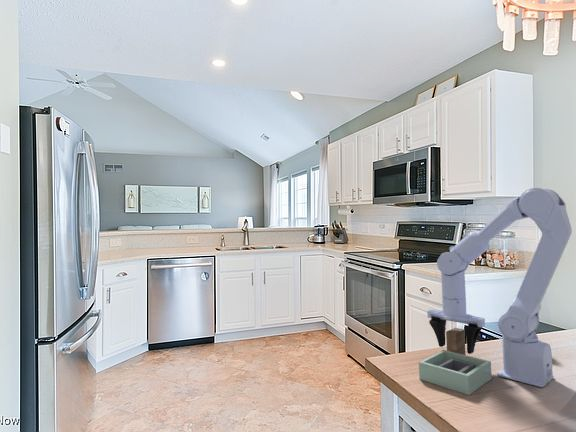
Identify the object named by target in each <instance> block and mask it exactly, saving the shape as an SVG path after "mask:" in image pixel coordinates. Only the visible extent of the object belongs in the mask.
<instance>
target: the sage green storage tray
mask: <svg viewBox="0 0 576 432" xmlns="http://www.w3.org/2000/svg"><path fill="white" fill-rule="evenodd" d="M418 372H419V373H418V374H419V375H418V376H419V380H421V381H424V382H428V383H431V384H434V385H437V386H439V387H442V388H446V389H449V390H452V391H455V392H459V393H462V394H465V395H468V396H470V395H471V394H472V393H474V392H475V391H477V390H478V389H479V388H481V387H482V386H484V385H485V384H486V383H488V382H489V381H491V380H492V377H493V376H492V360H491V361H490V360H486V359H482V358H478V357H474V356H469V355H462V354H458V353H454V352H450V351H447V349H442V350H439V351H438V352H436V353H433V354H432V355H430V356H428V357H425V358H424V359H422V360H420V361H418Z"/></svg>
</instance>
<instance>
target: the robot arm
mask: <svg viewBox="0 0 576 432" xmlns="http://www.w3.org/2000/svg"><path fill="white" fill-rule="evenodd" d="M528 218H529V219H531V220H532V221H533V222H534V223H535V224H536V227H538V229H539V230H540V232H541V237H540V239H539V243H538V244H537V247H536V249H535V251H534V254H533V256H532V259H531V261H530V264H529V266H528V268H527V270H526V272H525V275H524V278H523V280H522V282H521V284H520V287H519V290H518V292H517V294H516V297H515V298H514V299H513V301H512V302H511V304H510V305H509V308H508V310H507V311H506V312H505V313H504V314H502V315H501V316H500V317H499V318H498V324H497V325H498V329H499V331H500V333H501V336H502V337H501V339H502V361H503V369H501V370H499V372H497V373H496V376H498V377H502V378H506V379H509V380H513V381H515V382H516V381H518V382H520V383H524V384H528V385H532V386H535V387H539V388H544V387H545V386H546V385H547V384H549V383H550V381H552V379H554V378H555V375H553V374H554V373H553V356H552V354H553V352H552V347H551V345H550V344H549V343H547V342H545V341H542V340H539V337H538V335H537V332H536V333H535V331H534V330H536V329H537V330H538V327H539V324H540V317H539V314H540V312H541V309H542V308H541V307H542V305H541V303H542V301H543V299H544V297H545V294H546V293H547V290H548V287H549V285H550V283H551V282H552V279H553V277H554V275H555V272H556V269H557V267H558V265H559V263H560V261H561V258H562V256H563V254H564V252H565V249H566V246H567V245H568V242H569V240H570V238H571V236H572V231H573V230H572V226H571V223H570V218H569V216H568V212H567V205H566V202H565V201H564V199H563V198H562V197H561V196H560V195H559V194H558V192H556V191H555V190H552V189H549V188H540V187H531V188H529V189H526V190H525V191H523V192H522V194H521V195H520V196H518V197H515V198H514V199H513V200H511V201H510V202H509V203H508V204H507V205H506V206H505V207H504V208H503V209H502V210H501V211H500V212H498V213H497V214H496V215H495V216H494V217H493V218H492V219H491V220H490V221H489V222H488V223H486V224H485V225H484V227H482V228H481V229H480V230H479V231H470V232H469V233H468V232H465V233H464V234H462V236H461V237H462V239H460V241H459V242H457V243H456V244H455V245H451V246H450V247H449V248H448V249H449V252H448V251H446V252H442V253H441V254H440V256H439V257H438V258H437V261H436V265H437V266H436V267H437V269H438V270H439V271H440V273H441V274H440V275H441V297H442V298H441V299H442V310H439V309H431V308H430V309H428V310H427V311H426V312H427V314H426V315H427V318H428V319H429V318H430V319H429V325H430V326H431V328H432V329H433V331H434V334H435V336H436V340H437V343H438V346H439V347H440V348H443V347H444V346H446V326H447V325H446V324H447V321H449V322H453V323H454V322H455V323H459V324H465V326H463V329H464V330H465V340H466V353H467V354H469V355H472V354H473V353H474V352H475V348H476V344H477V340H478V337H479V335H480V332H481V330H482V329H483V327H486V319H485V318H484V317H480V316H476V315H473V314H468V313H467V297H466V296H467V295H466V293H467V292H466V277H465V276H466V275H465V271H466V270H467V269H468V267H469V265H470V264H472V262H474V261H475V260H477V259H478V258H479V257H480V256H481V255H482V254H484V253H485V252H486V251H488V249H489V248H490V241H491V240H493V239H494V238H496V236H498V235H499V234H501V233H502V232H503V231H504V230H506V229H507V228H509V226H511V225H512V224H514V223H515V222H516V221H519V220H524V219H528ZM466 324H467V325H466ZM537 330H536V331H537Z"/></svg>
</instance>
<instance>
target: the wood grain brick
mask: <svg viewBox="0 0 576 432" xmlns="http://www.w3.org/2000/svg"><path fill="white" fill-rule="evenodd" d="M445 342H446V351H450V352H454V353H458V354H462V355H466V353H467V351H466V334H465V330H464V328H459V327H454V328H451V329H449V330H447V331H445ZM466 356H467V355H466Z"/></svg>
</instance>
